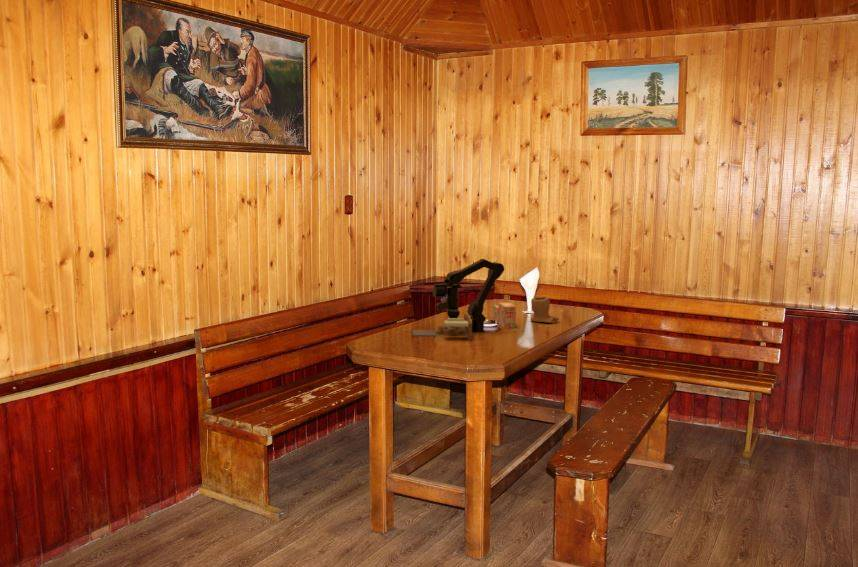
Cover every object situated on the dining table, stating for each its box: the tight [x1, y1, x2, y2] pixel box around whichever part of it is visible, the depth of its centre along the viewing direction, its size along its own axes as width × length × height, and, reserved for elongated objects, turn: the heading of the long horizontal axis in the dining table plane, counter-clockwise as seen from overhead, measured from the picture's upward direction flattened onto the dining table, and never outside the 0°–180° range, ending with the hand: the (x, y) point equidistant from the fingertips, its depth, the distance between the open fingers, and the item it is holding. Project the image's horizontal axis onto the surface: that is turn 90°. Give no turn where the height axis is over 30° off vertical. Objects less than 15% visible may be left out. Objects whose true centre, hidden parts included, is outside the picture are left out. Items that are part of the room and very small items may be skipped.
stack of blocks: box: [492, 302, 517, 329], centre depth 414 cm, size 21×6×12 cm, turn 13°
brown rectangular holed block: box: [437, 313, 473, 341], centre depth 381 cm, size 16×25×9 cm, turn 3°
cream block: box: [446, 318, 456, 330], centre depth 388 cm, size 4×4×6 cm
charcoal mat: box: [412, 329, 438, 338], centre depth 382 cm, size 12×12×1 cm
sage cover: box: [443, 317, 469, 326], centre depth 372 cm, size 12×8×3 cm, turn 93°
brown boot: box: [530, 295, 560, 324], centre depth 422 cm, size 15×12×15 cm
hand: (451, 325), depth 388 cm, fingers closed on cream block, 4 cm apart
